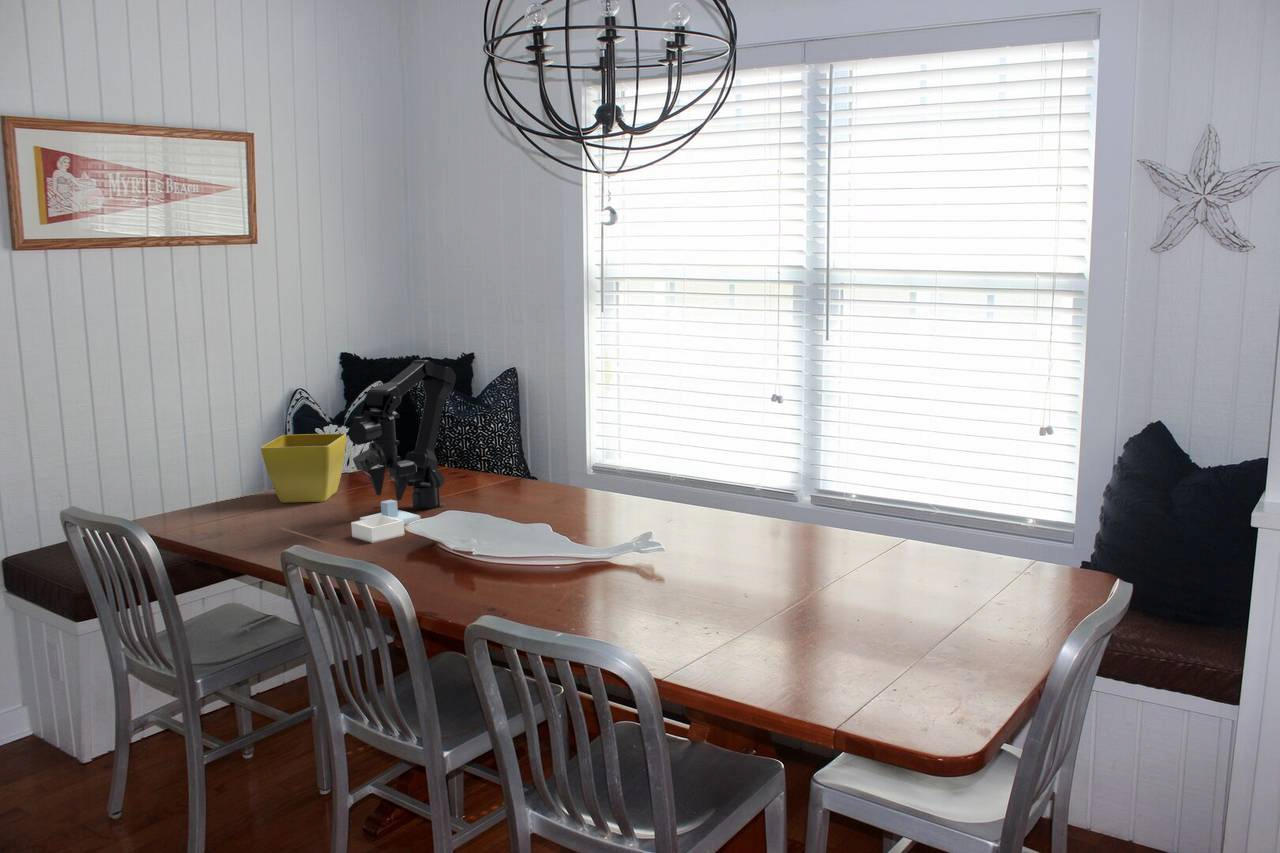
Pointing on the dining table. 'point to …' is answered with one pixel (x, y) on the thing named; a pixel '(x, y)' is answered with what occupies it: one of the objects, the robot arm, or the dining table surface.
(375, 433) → the robot arm
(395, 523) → the white open box
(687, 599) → the dining table surface
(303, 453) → the flower pot
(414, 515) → the lid
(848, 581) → the dining table surface
